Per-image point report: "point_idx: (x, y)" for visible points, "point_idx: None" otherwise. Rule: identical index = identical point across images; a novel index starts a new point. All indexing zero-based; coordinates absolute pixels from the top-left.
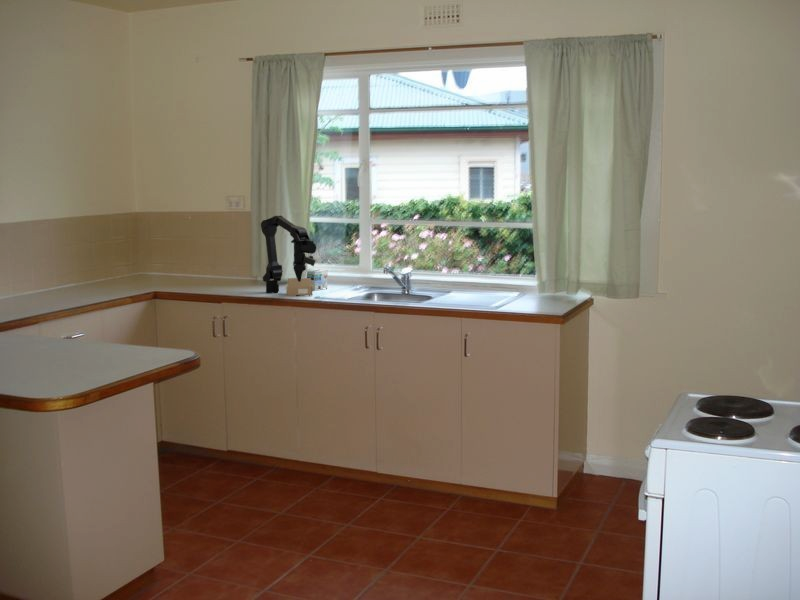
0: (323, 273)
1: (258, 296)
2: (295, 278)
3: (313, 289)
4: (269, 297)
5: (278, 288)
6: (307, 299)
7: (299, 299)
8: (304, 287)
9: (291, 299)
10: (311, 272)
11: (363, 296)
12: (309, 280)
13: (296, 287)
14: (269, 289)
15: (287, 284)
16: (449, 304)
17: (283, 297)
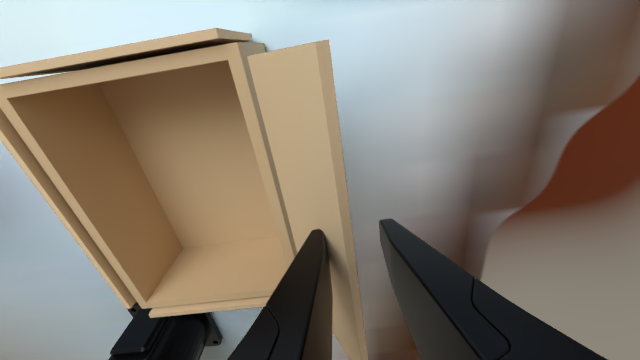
0: None
1: (343, 349)
2: (360, 311)
3: None
4: (376, 308)
5: (163, 319)
6: (491, 54)
7: (481, 129)
8: (264, 137)
9: (473, 188)
10: None
11: None
12: (304, 73)
13: (286, 216)
14: (201, 348)
15: (152, 303)
16: None
17: (372, 246)
